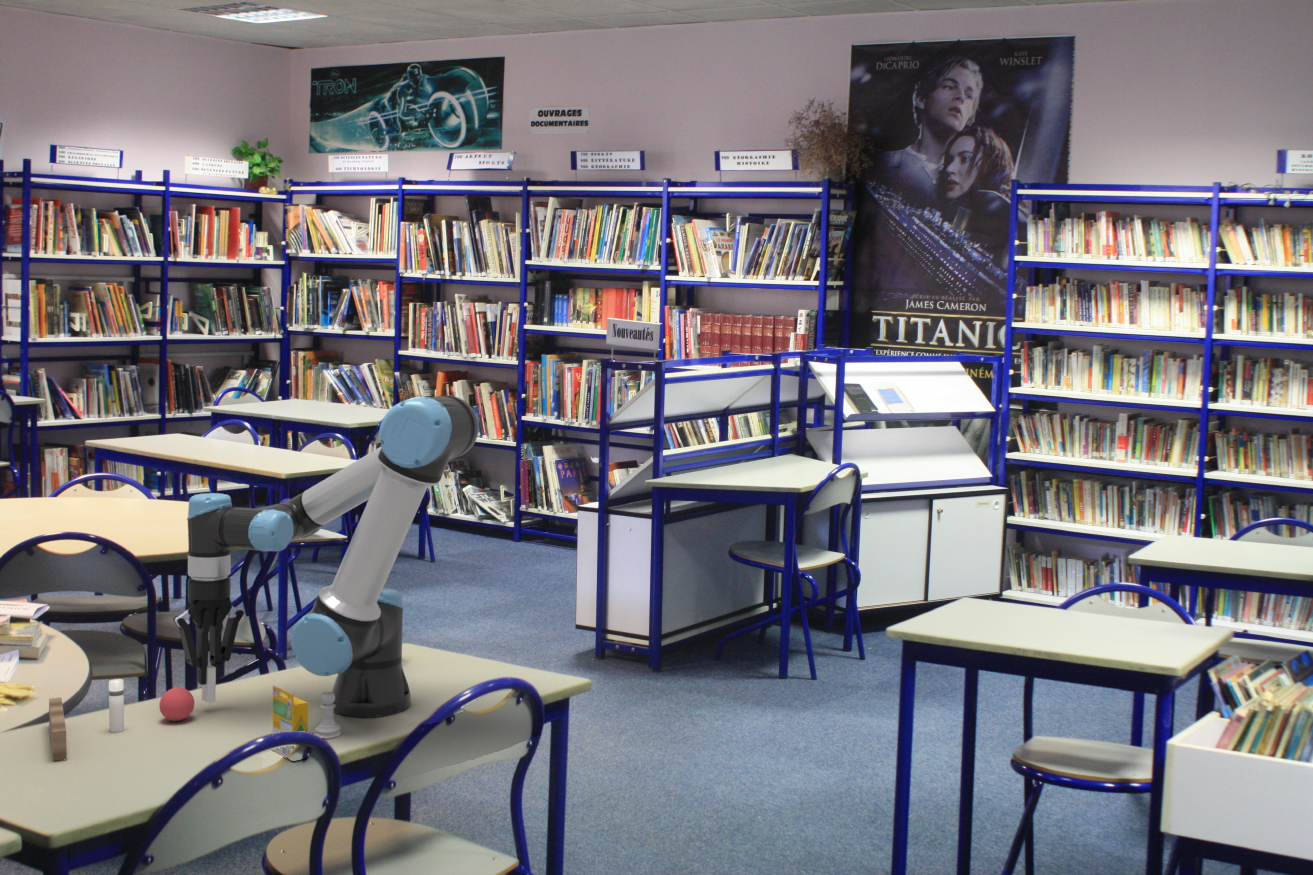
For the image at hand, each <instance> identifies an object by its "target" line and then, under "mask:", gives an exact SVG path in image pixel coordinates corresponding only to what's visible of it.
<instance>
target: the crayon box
mask: <svg viewBox="0 0 1313 875" xmlns="http://www.w3.org/2000/svg"><path fill="white" fill-rule="evenodd" d="M280 693H281V694H280ZM308 727H309V702H307V701H305V700H303V699H300V698H299V697H296V696H295V695H294V694H293V693H291V692H289V691H286V690H285V689H282V688H281V687H278V686H276V685H272V735H273V734H275V733H280V732H291V731H305V732H309V728H308ZM293 749H294V746H286V747H280V748H276V749H273V750H271V751H272V752H273V753H276V754H277V755H279V756H281V757H283V758H285V759H287V758H286V757H287V756H288V755H289V754H290V753H291V752H292V751H293Z"/></svg>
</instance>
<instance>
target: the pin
mask: <svg viewBox="0 0 1313 875" xmlns="http://www.w3.org/2000/svg"><path fill="white" fill-rule="evenodd" d="M124 684H125V683H124V679H123V678H114V679H110V680H109V681H108V722H109V724H108V728H109V729H108V732H109V733H120V732H123V731H124V730H125V723H124V722H125V716H124V715H125V714H124V713H125V704H124V703H125V702H124V701H125V699H124V698H125V696H124V695H125V687H124Z"/></svg>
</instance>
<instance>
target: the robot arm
mask: <svg viewBox="0 0 1313 875" xmlns="http://www.w3.org/2000/svg"><path fill="white" fill-rule="evenodd" d="M479 426H480V425H479V420H478V417H477V413H476V412H475V410H474V408H473V407H472V406H471V405H470V404H469V403H468V402H466V401H465V399H462V398H460V397H458V396H453V395H447V394H446V395H437V396H427V397H426V396H415V397H411V398H408V399H405V400H403V401H400V402H398V403H397V404H395V405H393V406H392V407H391V408H390V409H389V410H388V411H387V412H386V414H385V415H384V417H383V418H382V421H381V423H380V426H379V432H378V439H379V440H378V441H379V442H380V445H381V446H380V447H378V448H376V449H374V450H372V451H371V452H369V453H368V454H365V455H363V457H361V458H359V459H358V460H355V461H354V462H352V463H351V464H349V465H347V466H345V467H344V468H342V469H340V470H339V471H337V472H335V473H333V474H332V475H330V476H328V477H327V478H324V480H323V479H322V480H321V481H319V482H318V483H316V484H315V485H312V486H311V487H310V488H308V489H305V490H304V491H303V492H301V493H299V494H297V495H296V496H294V497H293V498H291V499H289V500H286V501H285V502H284V501H283V502H280V503H275V504H272V505H268V506H263V507H258V508H257V507H256V508H251V507H250V508H249V507H236V506H233V503H232V499H231V496H230V495H229V494H224V493H218V492H216V493H215V492H209V493H208V492H207V493H199V494H194V495H193V496H191V497H190V498H189V500H188V508H187V509H188V512H187V518H186V521H187V540H188V549H187V550H188V551H187V575H188V577H189V578H188V579H187V604H186V605H185V611H183V612H182V613H181V614H180V615H175V616H174V617H173V618H172V621H173V623H174V624H175V626H176V627H177V628H178V632H179V635H180V636H179V637H180V640H181V644H182V647H183V652H184V656H185V660H186V663H187V664H188V665H190V666H191V667H193V668H194V667H195V668H196V669H197V670H196V672H197V673H196V674H197V675H196V676H197V677H196V678H197V679H196V680H197V683H198V684H199V685H201V700H203V701H204V702H206V703H212V702H216V697H217V696H216V684H217V683H219V682H220V680H221V668H222V667H223V665H224V663H225V662H229V661H230V660H231V658H232V657H231V656H232V653H233V649H234V643H235V640H236V637H237V636H236V635H237V631H238V628H239V623H240V621H241V619H242V618H243V616H244V615H245V611H244V610H243V609H241V608H237V607H235V606H233V602H232V601H231V578H230V576H229V575H231V574H232V573H231V571H232V570H231V569H232V568H231V567H232V566H231V565H232V564H231V560H232V559H231V558H232V557H231V555H232V554H231V551H232V550H231V549H232V548H235V549H241V550H242V549H243V550H251V551H252V550H253V551H258V552H259V551H260V552H266V553H267V552H282V551H283V550H285V549H286V548H287V547H288V545H290V544H291V542H292V541H296V540H300V539H306V538H309V537H311V536H312V535H314V534H316V533H318V532H320V530H321V529H322V528H323V526H325V525H326V524H328V523H330V522H332V521H333V520H335V519H337V518H339V517H340V516H343V514H345V513H348V512H349V511H351V510H352V509H354V508H356V507H358V506H360V505H361V504H363V503H364V502H367V503H366V506H365V507H364V509H363V512H362V515H361V516H360V519H359V521H358V523H357V525H356V529H355V531H354V532H353V535H352V537H351V540H350V543H349V544H348V546H347V549H346V551H345V554H344V556H343V558H342V560H341V563H340V565H339V567H338V570H337V573H336V575H335V577H334V579H333V582H332V584H330V585H327V586H324V587H322V588H321V589H320V590H319V592H318V595H317V596H316V599H315V601H314V604H313V605H312V606H313V607H312V608H311V611H310V613H308V614H305V615H303V616H302V617H301V618H300V619H299V620H298V621H297V622H296V623H295V625H294V626H293V629H292V630H291V636H290V645H291V649H292V652H293V653H294V656H295V659H296V661H297V663H299V665H300V667H302V668H303V669H305V670H306V671H307V672H308V673H311V674H313V675H315V676H319V677H330V676H333V675H336V679H335V681H334V683H333V687H332V690H331V692H332V693H334V695H335V701H334V702H333V703H332V704H335V705H336V706H335V707H334V709H333V713H337V714H340V715H342V716H348V717H355V718H356V717H357V718H370V717H371V718H375V717H384V716H389V715H394V714H397V713H400V712H403V711H405V710H407V709H409V707H410V706H411V690H410V686H409V684H408V683H409V682H408V681H407V677H406V674H405V671H404V667H403V660H402V659H403V658H402V656H403V619H404V618H403V617H404V616H403V614H404V612H403V611H404V606H403V596H402V593H401V592H400V591H399V590H396V589H394V588H388V587H387V588H385V587H384V586H385V585H386V582H387V580H388V577H389V576H390V573H391V571H392V569H393V567H394V564H395V562H396V560H397V558H398V555H399V553H400V550H401V548H402V547H403V544H404V542H405V539H406V537H407V535H408V533H409V530H410V528H411V526H412V523H413V521H414V519H415V517H416V514H417V512H418V510H419V507H420V505H421V503H422V501H423V498H424V496H425V494H426V491H427V490H428V488H430V487H433V486H435V485H438V484H439V483H440V482H441V479H442V477H443V475H444V472H445V470H446V469H447V466H448V464H449V461H451V460H454V459H456V458H459V457H461V456H464V455H465V454H466V453H467V452H469V451H470V450H471V449H472V448H473V446H475V444H476V441H477V439H478V436H479V430H480V428H479ZM226 617H227V620H226V623H225V627H224V628H223V626H224V625H223V622H224V620H225V619H226ZM190 619H191V621H192V622H193V623H194V624H195V627H194V628H195V631H196V634H195V635H196V636H195V638H196V639H195V640H196V641H195V642H194V638H193V634H192V630H191V627H190V626H189V625H190ZM223 629H224V632H223V637H222V631H223ZM195 644H196V645H195Z"/></svg>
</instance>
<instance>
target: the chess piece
mask: <svg viewBox="0 0 1313 875" xmlns="http://www.w3.org/2000/svg"><path fill="white" fill-rule="evenodd" d="M320 701H321V703H322V704H320V706H319V708H321V709H322V710H321V711H322V712H321V713H322V719H321V721H320V723H319V725H317V726H316V727H315V729H314V730H315V732H314V733H315V734H317V735H319V736H321V737H323V738H324V739H323V740H332V739H337V738H338V737H340V736H341V734H342V731H341V730H340V729H341V726H339V725H338V724H337V722H336V721H335V718H334V711H333V709H334V707H335V706H336V705H335V704H332V703H333V702H334V701H335V695H334V693H332V691H324V692H322V693H321V695H320Z"/></svg>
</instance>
